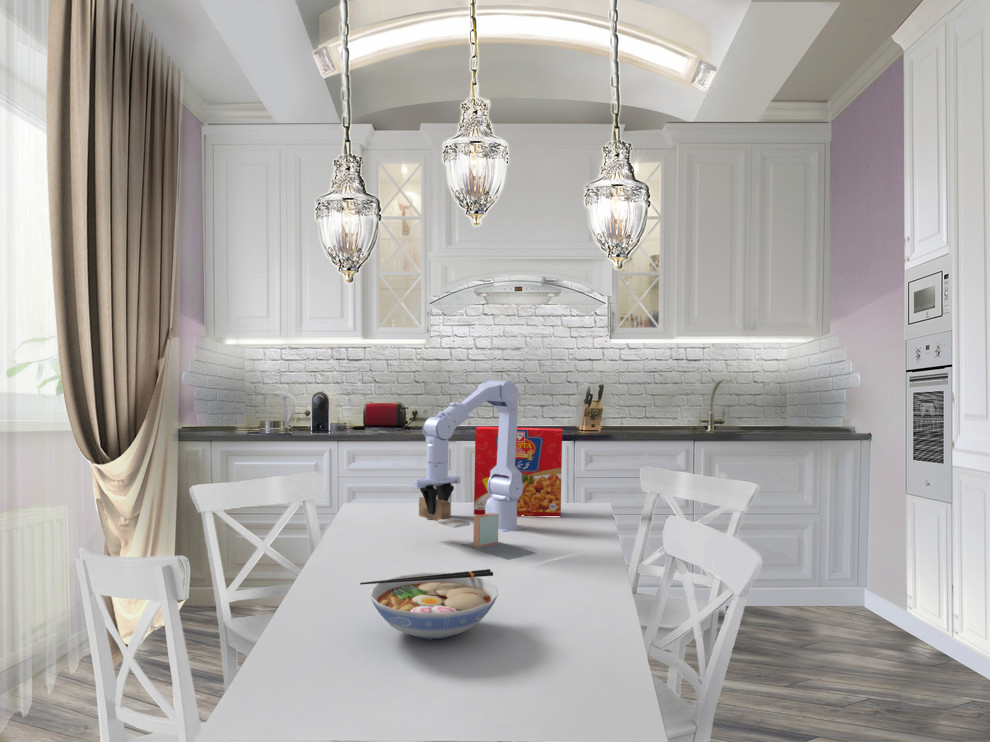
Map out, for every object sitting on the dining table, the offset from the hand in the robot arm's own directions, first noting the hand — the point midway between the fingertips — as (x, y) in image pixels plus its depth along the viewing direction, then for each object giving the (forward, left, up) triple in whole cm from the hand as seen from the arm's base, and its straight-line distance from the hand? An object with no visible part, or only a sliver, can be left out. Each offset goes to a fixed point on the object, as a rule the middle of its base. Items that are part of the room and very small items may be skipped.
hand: (436, 512), depth 184 cm
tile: (+10, +9, -8) cm, 16 cm away
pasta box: (-15, +45, -9) cm, 48 cm away
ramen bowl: (+49, -38, -9) cm, 62 cm away
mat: (+15, +9, -8) cm, 19 cm away
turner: (+2, 0, -2) cm, 3 cm away
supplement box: (-26, +21, -9) cm, 35 cm away
